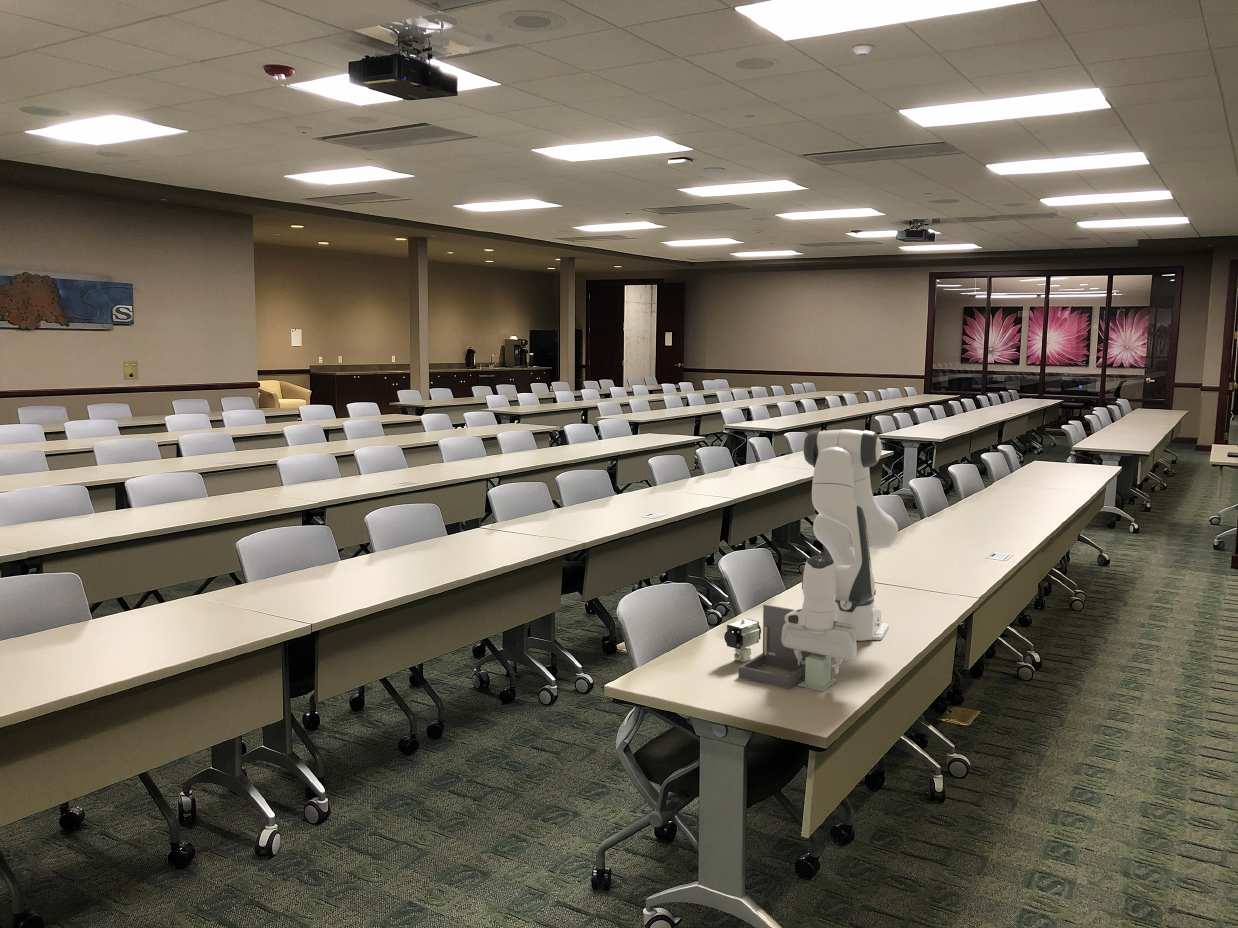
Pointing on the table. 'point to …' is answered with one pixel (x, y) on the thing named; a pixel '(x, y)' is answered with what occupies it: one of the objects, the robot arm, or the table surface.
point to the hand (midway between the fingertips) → (818, 668)
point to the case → (774, 653)
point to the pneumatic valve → (742, 637)
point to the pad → (817, 686)
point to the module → (818, 669)
